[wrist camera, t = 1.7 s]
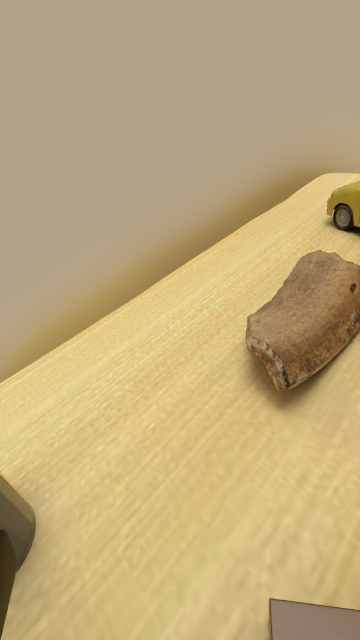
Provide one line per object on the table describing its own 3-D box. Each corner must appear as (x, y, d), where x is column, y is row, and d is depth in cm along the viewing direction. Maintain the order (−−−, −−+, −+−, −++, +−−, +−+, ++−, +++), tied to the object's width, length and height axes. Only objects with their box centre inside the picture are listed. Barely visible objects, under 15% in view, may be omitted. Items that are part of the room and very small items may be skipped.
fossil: (212, 387, 35) (296, 420, 27) (192, 339, 32) (280, 362, 25) (308, 288, 46) (388, 293, 38) (299, 246, 43) (384, 241, 35)
